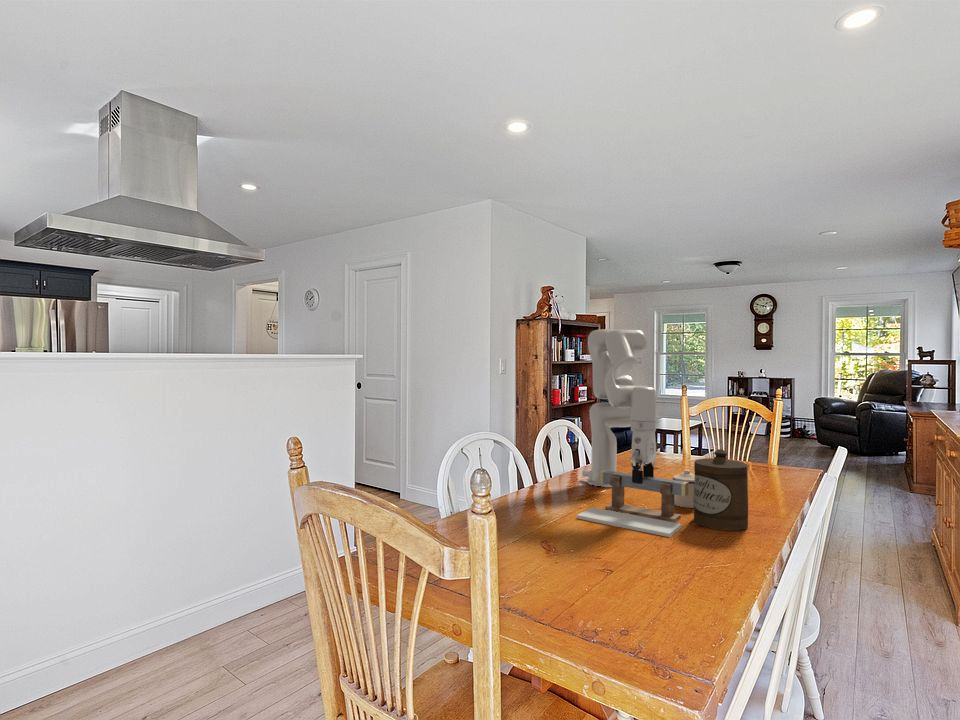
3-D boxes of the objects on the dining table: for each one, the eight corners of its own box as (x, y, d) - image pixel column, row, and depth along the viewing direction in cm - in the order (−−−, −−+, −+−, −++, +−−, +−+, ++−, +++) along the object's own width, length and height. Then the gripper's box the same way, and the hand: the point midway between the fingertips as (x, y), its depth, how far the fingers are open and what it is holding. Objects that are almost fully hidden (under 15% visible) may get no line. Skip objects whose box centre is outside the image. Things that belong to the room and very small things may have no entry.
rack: (605, 509, 174) (605, 475, 174) (612, 505, 179) (613, 472, 179) (674, 522, 161) (675, 485, 161) (680, 517, 166) (681, 482, 166)
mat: (576, 518, 164) (576, 515, 164) (592, 510, 173) (592, 507, 173) (669, 537, 148) (669, 533, 148) (681, 527, 157) (681, 523, 157)
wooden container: (682, 519, 165) (683, 447, 165) (717, 513, 171) (718, 444, 171) (723, 534, 151) (724, 455, 151) (759, 527, 158) (760, 452, 157)
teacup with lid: (699, 510, 175) (699, 474, 175) (670, 506, 179) (670, 471, 179) (703, 501, 185) (704, 467, 185) (676, 498, 190) (676, 464, 190)
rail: (599, 482, 177) (599, 471, 177) (604, 480, 180) (604, 470, 180) (685, 496, 161) (685, 484, 161) (688, 493, 164) (688, 482, 163)
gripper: (645, 429, 161) (645, 487, 160) (664, 424, 175) (663, 477, 174) (621, 427, 165) (621, 483, 165) (641, 423, 179) (641, 474, 179)
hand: (643, 480), depth 170 cm, fingers open, 9 cm apart
